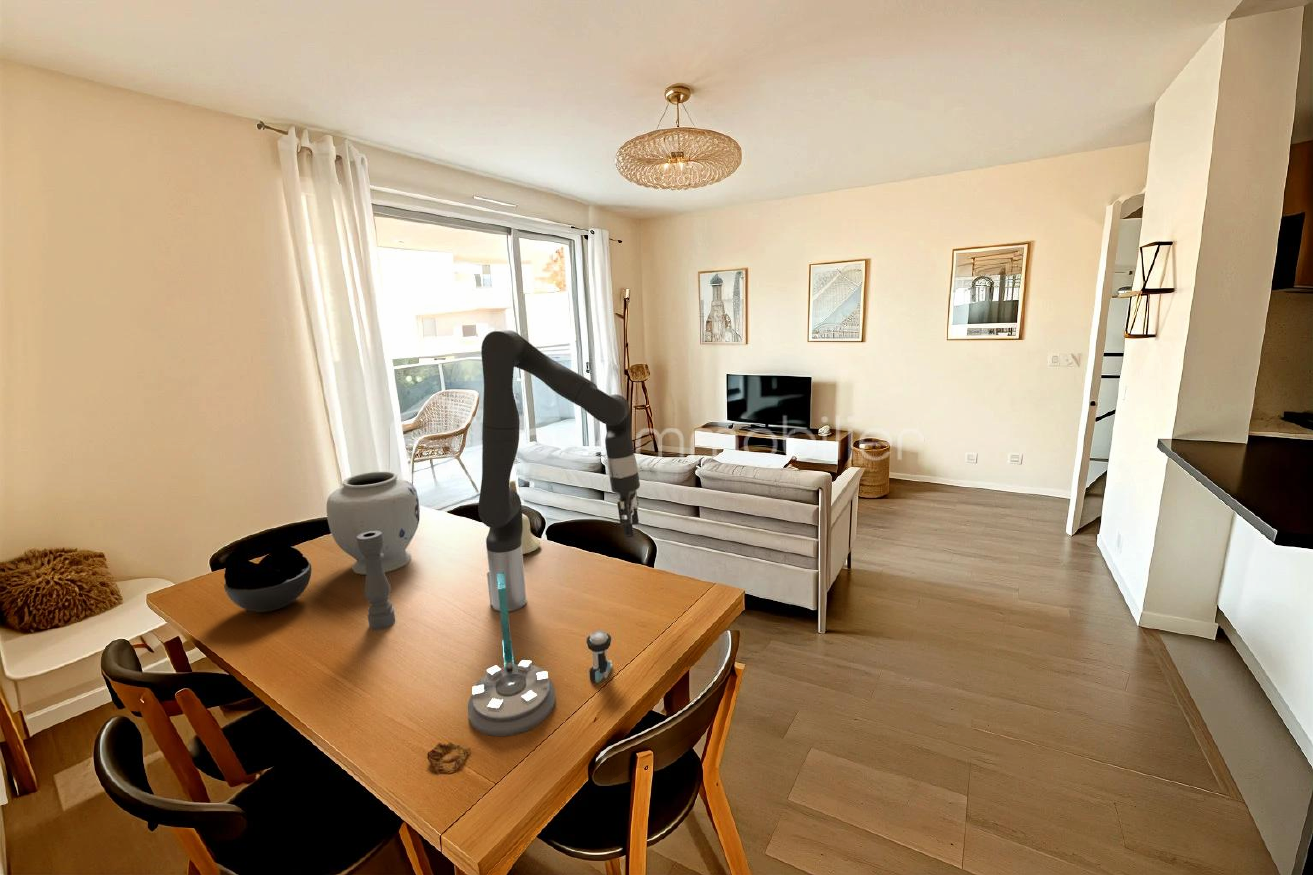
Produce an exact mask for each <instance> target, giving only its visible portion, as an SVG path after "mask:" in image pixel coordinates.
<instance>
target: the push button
mask: <svg viewBox="0 0 1313 875" xmlns="http://www.w3.org/2000/svg"><path fill="white" fill-rule="evenodd" d="M611 642H612V636H611V635H610V633H607V632H606V631H604V630H596V631H594V632H592V633H590V635H589V636H588V637H587V638H586V645H587V648H588V649H589V650H590V651H591V652H592V661H593V662H592V667H590V669H589V680H590V681H592V682H595V683H597V684H599V683H600V682H601V681H602V680H603V679H607V678H608V676H609V674H610V673H611V668H612V666H613V660H612V659H609V660H608V657H607V650H609V648H610V647H611Z"/></svg>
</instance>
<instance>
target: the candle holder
mask: <svg viewBox="0 0 1313 875" xmlns="http://www.w3.org/2000/svg"><path fill="white" fill-rule="evenodd" d="M357 542H358V548H359V550H360V552H361V553H362V554H363V555H364V556H363V557H362V559H361V561H362V562H363V563H364V564H365V567H366V574H367V575H365V584H364V591H363V592H364V597H365V598H366V600H367V601H368V602H369V604H370V605H369V607H368V608H367V612H368V614H367V620H368V626H369V629H370V630H371V631H381V630H385V629H388V628H390V627H392V626H393V625H394V624H395V623H396V615H395V609H394V608H393V604H392V602H391V601H390V600H389V596H390V593H391V591H392V589H391V585H390V583H389V581H388V579H387V576H386V573H384V571H383V566H382V559H383V558H384V554H383V553H381V549H382V548H383V537H382V532H381V531H368V532H364V533H361V534H359V535H358V536H357Z"/></svg>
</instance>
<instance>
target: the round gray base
mask: <svg viewBox="0 0 1313 875" xmlns="http://www.w3.org/2000/svg"><path fill="white" fill-rule="evenodd" d="M549 689H550V691H549V695H548V698H547V700H546V701H545V703H544V704H543V705H542V706H541V707H540V708H539V709H537V710H536V711H535V712H533V713H531V714H530V715H527V716H525V717H523V718H520V719H517V720H513V721H507V722H494V721H489V720H486V719H483V718H481V717H480V716H479V715H478V714H477V713H476V712H475V710H474V707H473V698H472V695H471V696H470V697H469V700H468V705H467V709H468V717H469V722H470V724H471V727H473V728H474V729H475V730H476V731H478V732H479V733H480V734H484V735H486V736H491V737H508V736H515V735H518V734H521V733H525V732H527V731H529V730H532V729H533V728H535V727H537V726H538V725H540V724H541V723H542V722H543V721H544V720H545V719H546V718H548V716H549V715H550V714H551V713H552V711H553V709H554V707H555V703H556V692H555V691H556V690H555V685H554V682H553V681H552V680H551V679H550V678H549Z"/></svg>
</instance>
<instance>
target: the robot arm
mask: <svg viewBox="0 0 1313 875" xmlns="http://www.w3.org/2000/svg"><path fill="white" fill-rule="evenodd" d="M480 349H481V364H482V365H481V366H482V375H483V377H482V378H483V400H482V402H483V403H482V404H483V406H482V408H483V409H482V430H481V431H482V433H481V434H482V436H481V437H482V438H481V441H482V448H481V449H482V451H481V452H482V453H481V454H482V455H481V456H482V457H481V469H482V470H481V473H482V474H481V483H480V491H479V492H480V493H479V497H478V506H477V509H478V510H477V511H478V512H477V513H478V516H479V519H480V521H481V522H482V523H483V524H484V525H485V526H486V527H488V528H489V531H488V534H487V535H486V539H485V543H486V554H487V561H488V562H487V565H488V571H487V574H486V577H487V586H488V597H489V605H491V606H492V609H493V610H495V611H497V612H500V605H499V594H498V583H497V573H503V572H504V576H505V586H506V596H507V606H508V612H513V611H516V610H519V609H521V608H523V607H524V606H525V605H526V603H527V593H526V592H527V591H526V590H527V589H526V579H525V569H524V554H522V543H521V537H522V532H523V521H522V514H523V507H522V500H521V497H520V495H519V494H518V491H517V492H516V491H515V490H514V489H512V488H510V482H511V481H510V480H511V475H512V470H513V466H514V463H515V460H516V457H517V453H518V449H519V442H520V426H521V425H520V423H521V422H520V414H519V410H518V406H517V402H516V399H515V395H514V394H515V393H514V387H513V386H514V385H513V384H514V370H515V368H517V369H520V370H522V371H525V372H527V373H529V374H531V375H532V376H534V377H535V378H537V379H538V380H540V381H541V382H542V383H544V384H545V385H546V386H547V387H548V388H549V389H551V390H552V391H553V392H554V393H556V394H557V395H559V396H561V397H562V398H564V399H565V400H567V401H570V403H573V404H575V405H576V406H579V407H580V408H582V409H583V410H585V411H586V412H587V413H588V414H589V415H591V416H592V417H593V418H594V419H596V420H597V421H599V422H600V423H601V424H605V430H606V434H605V439H604V442H605V452H606V457H607V470H608V475H609V476H608V478H609V481H610V482H609V484H610V489H611V491H612V492H613V493H614V494H619V498H618V501H617V503H616V504H617V510H618V517H619V523H620V525H623V533H624V536H625V538H633V537H634V535H635V534H634V525H639V523H640V520H639V514H638V510H639V507H638V506H639V504H640V503H639V499H638V494H637V490H638V489H640V487H641V485H640V484H641V483H640V476H639V470H638V462H637V458H636V454H635V449H634V443H633V442H634V441H633V439H632V438H633V437H632V422H631V421H632V420H631V417H632V416H631V410H630V409H631V408H630V403H629V402H628V400H627V399H626V398H625V397H624V396H623V395H620V394H615V393H614V394H610V395H609V394H607V393H606V392H604V391H603V390H601V389H600V388H598V386H597V384H596V383H595V382H593V381H591V380H590V379H588V378H586V377H585V376H583V375H581V374H580V373H578V372H576V371H573V370H572V369H570V368H568V367H566V366H565V365H563V364H561V363H559V362H558V361H556V360H554V359H553V358H550V357H549V356H548V355H546V354H545V353H544V352H542V351H540V349H538V348H537V347H535V346H534V345H533V344H532V343H531V342H529V341H528V340H526V338H524V337H523V336H522V335H521V334H519V333H518V332H516V331H513V330H510V329H498V330H492V331H490V332H489V333H487V334H486V335H485V337H484V338H483V340H482V343H481V348H480ZM625 516H626V518H625Z"/></svg>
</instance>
